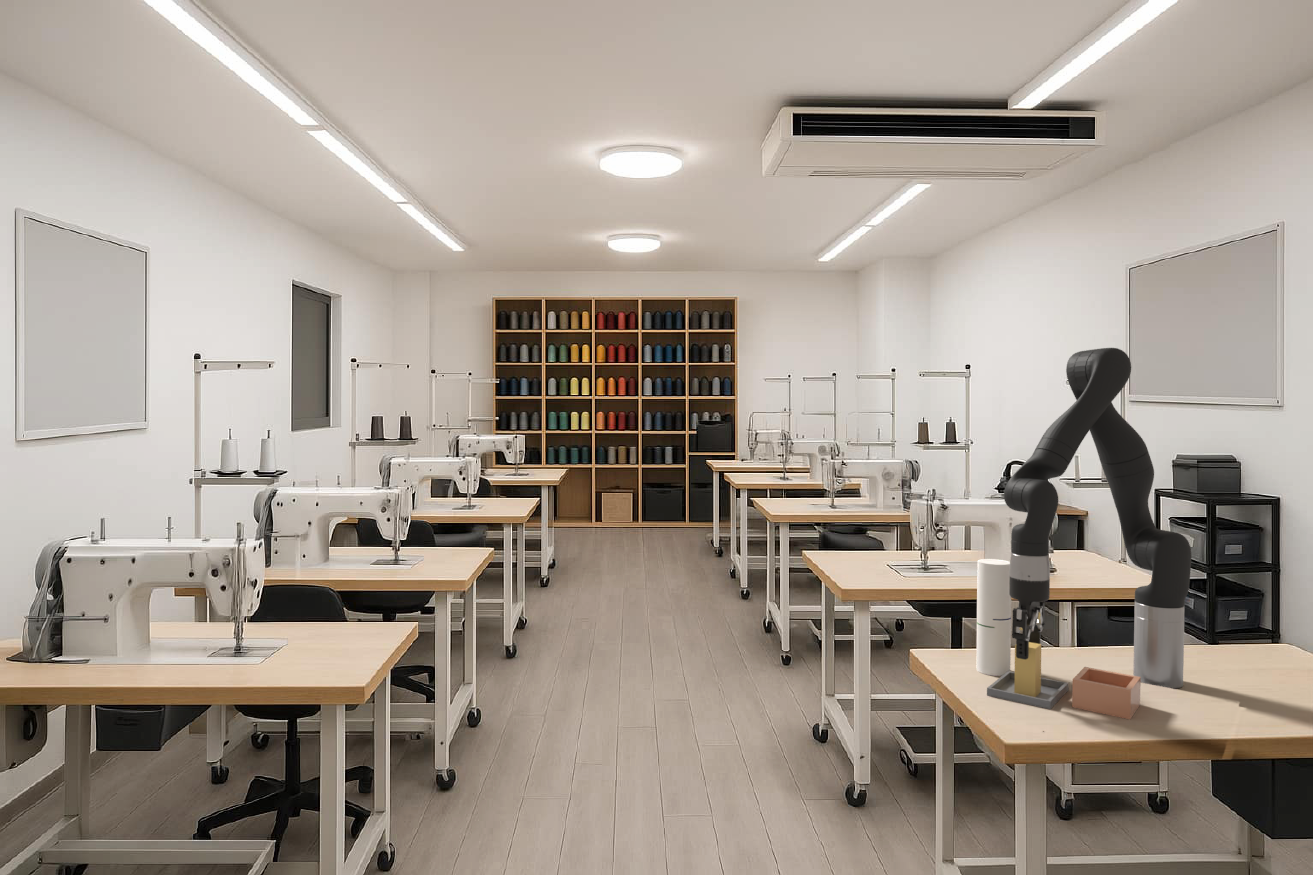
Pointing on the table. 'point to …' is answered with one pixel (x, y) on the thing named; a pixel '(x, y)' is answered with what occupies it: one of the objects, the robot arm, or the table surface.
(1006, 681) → the grey tray
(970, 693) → the table surface
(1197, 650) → the table surface
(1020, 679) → the ochre block
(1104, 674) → the terracotta storage bin
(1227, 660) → the table surface
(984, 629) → the cylindrical container
